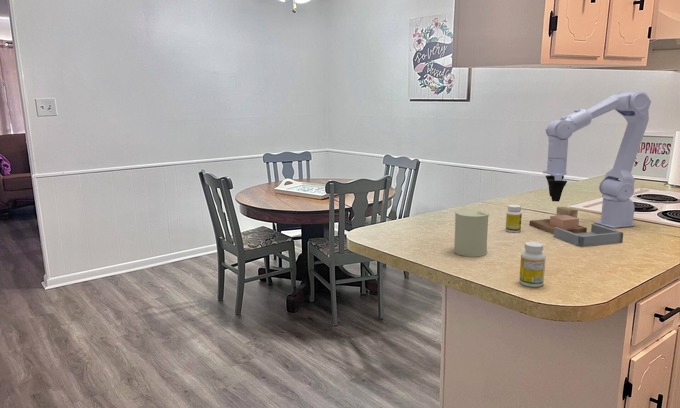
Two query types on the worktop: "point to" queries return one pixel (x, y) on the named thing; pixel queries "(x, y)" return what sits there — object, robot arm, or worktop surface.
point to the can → (471, 232)
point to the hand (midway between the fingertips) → (554, 198)
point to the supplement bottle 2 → (532, 265)
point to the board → (547, 227)
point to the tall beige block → (567, 211)
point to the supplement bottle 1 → (513, 218)
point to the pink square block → (564, 221)
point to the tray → (590, 236)
